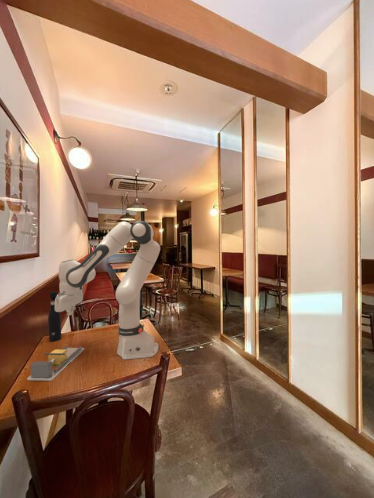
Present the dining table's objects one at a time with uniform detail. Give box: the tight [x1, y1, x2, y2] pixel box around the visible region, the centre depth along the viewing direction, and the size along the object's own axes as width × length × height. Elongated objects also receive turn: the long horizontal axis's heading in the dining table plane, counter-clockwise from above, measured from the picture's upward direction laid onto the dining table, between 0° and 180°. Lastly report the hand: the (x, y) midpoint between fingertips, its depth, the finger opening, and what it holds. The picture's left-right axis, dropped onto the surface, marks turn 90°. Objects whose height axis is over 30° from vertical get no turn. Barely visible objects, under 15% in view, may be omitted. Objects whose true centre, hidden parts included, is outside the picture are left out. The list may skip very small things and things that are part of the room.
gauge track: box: [26, 345, 85, 382], centre depth 104 cm, size 11×26×7 cm, turn 177°
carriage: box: [43, 349, 67, 365], centre depth 101 cm, size 10×9×5 cm
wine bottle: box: [47, 290, 62, 343], centre depth 130 cm, size 6×6×30 cm
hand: (70, 314), depth 115 cm, fingers closed
